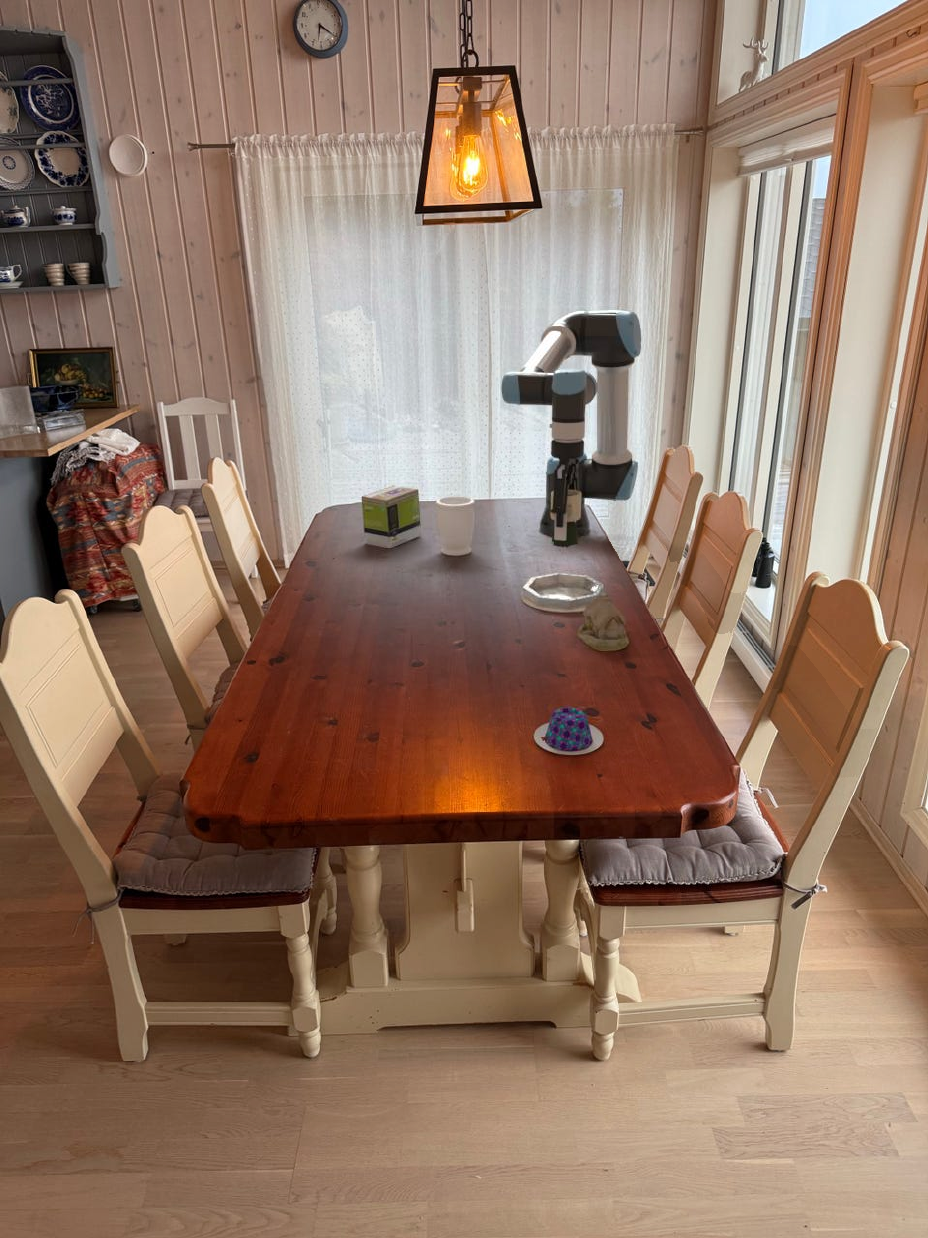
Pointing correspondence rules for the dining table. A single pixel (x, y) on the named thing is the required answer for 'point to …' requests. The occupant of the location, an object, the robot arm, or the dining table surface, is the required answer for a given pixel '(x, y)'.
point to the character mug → (569, 518)
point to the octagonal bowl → (561, 592)
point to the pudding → (568, 733)
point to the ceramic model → (603, 626)
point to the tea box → (391, 516)
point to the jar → (455, 524)
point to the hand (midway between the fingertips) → (565, 534)
